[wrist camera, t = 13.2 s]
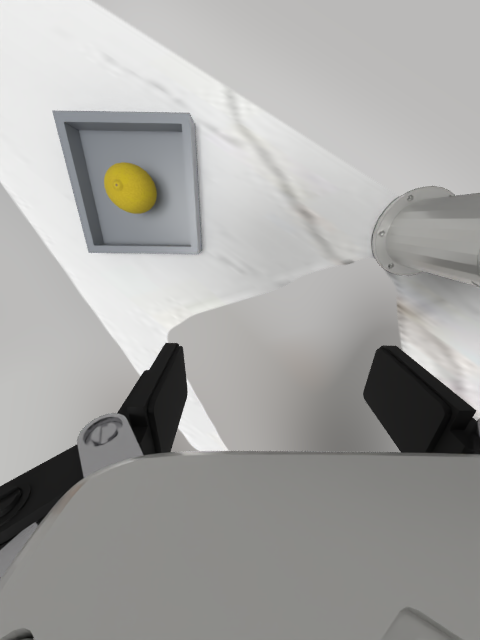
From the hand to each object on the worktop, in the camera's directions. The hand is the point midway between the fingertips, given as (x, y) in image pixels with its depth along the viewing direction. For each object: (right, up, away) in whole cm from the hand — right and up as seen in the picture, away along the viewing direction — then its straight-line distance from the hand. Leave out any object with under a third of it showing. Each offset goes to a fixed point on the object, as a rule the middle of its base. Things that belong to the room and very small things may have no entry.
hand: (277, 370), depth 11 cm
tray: (-16, +21, +22) cm, 34 cm away
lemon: (-15, +21, +21) cm, 33 cm away
